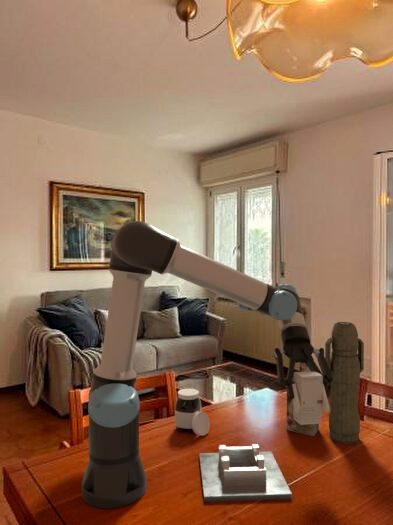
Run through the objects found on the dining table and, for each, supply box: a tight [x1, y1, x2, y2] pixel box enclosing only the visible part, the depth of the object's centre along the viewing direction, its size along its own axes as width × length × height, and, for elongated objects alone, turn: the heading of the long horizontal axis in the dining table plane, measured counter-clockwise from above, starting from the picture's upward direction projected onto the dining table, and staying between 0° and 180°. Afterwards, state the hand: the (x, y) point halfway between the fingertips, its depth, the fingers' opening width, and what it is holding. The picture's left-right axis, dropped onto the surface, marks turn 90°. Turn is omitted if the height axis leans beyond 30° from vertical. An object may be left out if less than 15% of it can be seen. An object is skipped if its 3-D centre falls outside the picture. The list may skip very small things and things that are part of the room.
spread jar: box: [174, 388, 211, 437], centre depth 129 cm, size 12×11×12 cm
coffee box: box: [285, 374, 320, 437], centre depth 128 cm, size 9×6×16 cm
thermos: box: [324, 321, 365, 445], centre depth 123 cm, size 9×12×35 cm
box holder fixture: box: [198, 443, 293, 503], centre depth 101 cm, size 20×20×6 cm
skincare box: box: [293, 370, 323, 425], centre depth 102 cm, size 6×4×12 cm
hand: (312, 410), depth 98 cm, fingers closed on skincare box, 6 cm apart
